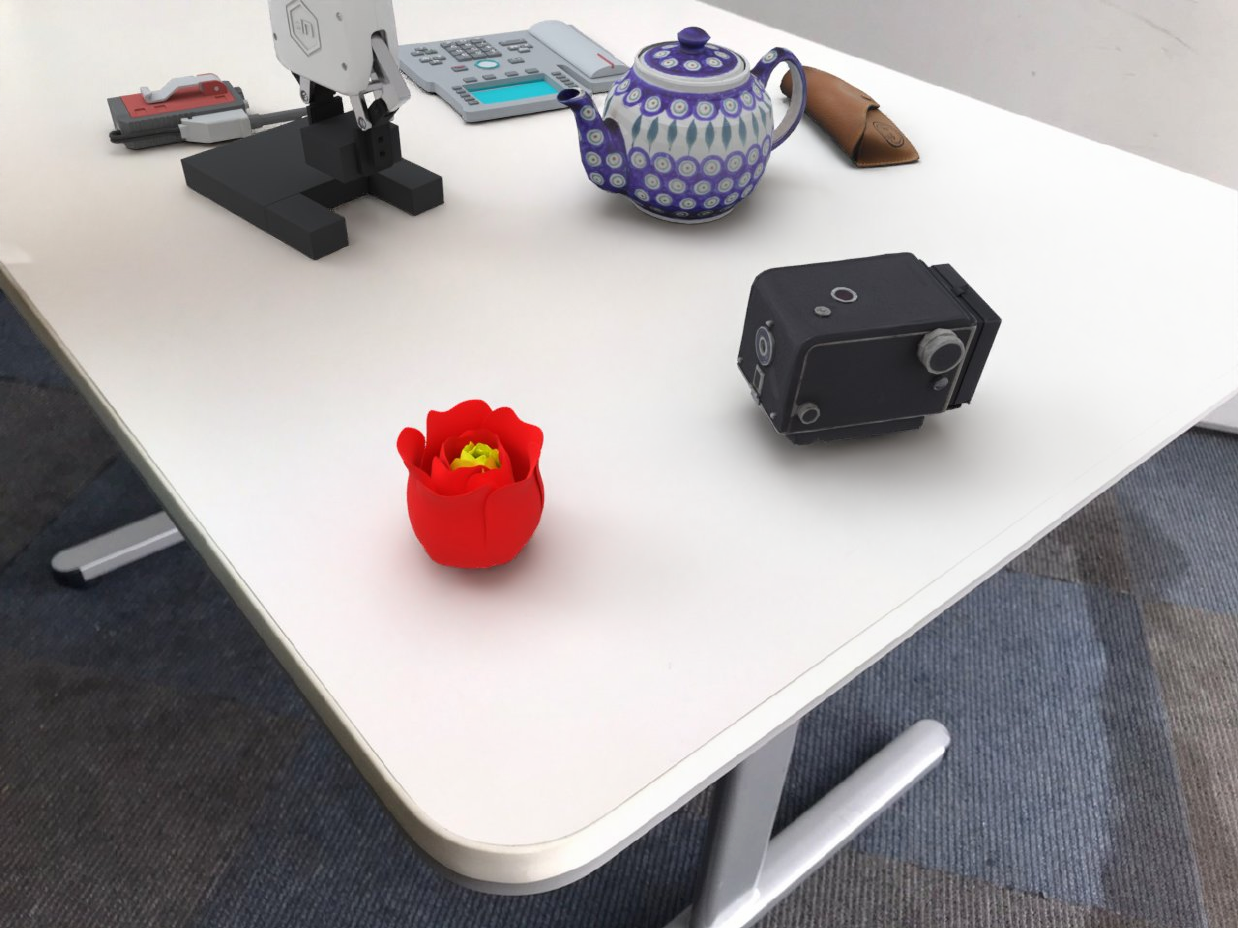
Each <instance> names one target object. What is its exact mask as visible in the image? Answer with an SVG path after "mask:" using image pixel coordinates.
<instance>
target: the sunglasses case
mask: <svg viewBox="0 0 1238 928" xmlns="http://www.w3.org/2000/svg"><path fill="white" fill-rule="evenodd" d="M802 67H803V69H804V72H805V76H806V80H807V99H806V105H805V109H804V112H805V113H806V114H807V115H808V116H809V117H810V118H811V119H812V120H813V122H815V123H816V124H817V125H818V126H819V127H820V128H821V129H822V130H823V131H824V132H825V134H827V136H829V137H830V138H831V139H832V140H833V141H834V143H836V145H838V147H839V148H840V149H842V151H844V153H845V154H846V155H847V156H848V157H849V158H851V159H852V160H853V162H854V163H855V165H856V166H857V167H858V168H882V167H892V166H897V165H903V164H908V163H909V164H910V163H913V162H917V161H918V160H920V159H921V158H920V155H919V153H918V151H917V149H916V148H915V146H914V145H913V143H912V142H911V141H910V140H909V138H908V137H907V136H906V135H905V134H904V132H903V131H902V130H901V129H900V128H899V127H898V126H897V125H896V124H895V123H894V122H893V121H892V120H891V119H890V118H889V117H888V116H887V115H886V114H885V113H884V112H883V111H882V110H881V109H880V108H881V104H879V103H878V102H877V101H876V100H875V99H874V98H873V97H872V96H870V95H869V94H867V92H865V91H863V90H861V89H860V88H857V87H855V85H852V84H850V82H847V81H846V80H844V79H842V78H841V77H838V76H837V75H835V74H832V73H830V72H827V71H826V70H822V69H819V68H817V67H813V66H808V65H803V64H802ZM779 85H780V86H779V91H781V93H782V95H783V96H785V97H786V98H787V99H789V100H790V101H791V98H792V93H793V81H792V75H791V71H790V68H789V69H788V70H787V71H786V72H785V74H784V75H783V76H782V78H781V81H780V84H779Z"/></svg>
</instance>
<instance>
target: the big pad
mask: <svg viewBox="0 0 1238 928" xmlns="http://www.w3.org/2000/svg"><path fill="white" fill-rule="evenodd" d="M306 126H309V122H308V116H302V118H300V119H297V120H294V121H288V122H285V123H284V124H280V125H277V126H274V127H272V128H268V129H265V130H262V131H259V132H256V133H252V135H250V136H248V137H245V138H242V137H241V138H238V139H236V140H233V141H230V142H227V143H225V144H222V145H218V146H216V147H212V148H210V149H207V150H203V151H201V152H197V153H194V154H191V155H189V156H187V157H186V156H185V157H183V158H181V159H180V164H181V167H182V172H183V176H184V180H185V184H186V186H187V187H188V188H190V189H192V190H193V191H195V192H197V193H199V194H200V195H202V196H204V197H205V198H207V199H209V200H211V201H212V202H214V203H216V204H217V205H219V206H220V207H223V208H224V209H226V210H227V211H230V212H231V213H233V214H235V215H236V216H238V217H240V218H241V219H242V220H245V221H246V222H248V223H250V224H252V225H253V226H255V227H257V228H259V229H260V230H262V231H264V232H265V233H267V234H270V235H271V236H273V237H274V238H275V239H277V240H280V241H281V242H283V243H284V244H286V245H288V246H290V247H291V248H293V249H295V250H297V251H298V252H300V253H302V254H304V255H305V256H307V257H309V258H310V259H312V260H313V261H315V260H319V259H320V258H323V257H326V256H327V255H329V254H331V253H333V252H336V251H339V250H340V249H341V250H342V249H343V248H345V247H347V246H349V245H350V243H349V242H350V241H349V236H348V235H349V234H348V228H347V221H346V218H345V216H343V215H341V214H339V213H337V212H335V211H333V210H332V209H333V208H335V207H338V206H340V205H342V204H345V203H347V202H350V201H352V200H355V199H357V198H360V197H362V196H364V195H367V194H371V195H372V196H375V197H377V198H379V199H380V200H383V201H384V202H386V203H389V204H390V205H393V206H394V207H395V208H398V209H400V210H401V211H403V212H406V213H408V214H410V215H412V216H417V215H419V214H422V213H424V212H426V211H430V210H431V209H433V208H435V207H438V206H441V205H442V204H444V203H445V198H444V197H445V196H444V185H443V184H444V183H443V175H442V176H441V175H440V174H438V173H436V172H433V171H431V170H429V169H427V168H425V167H423V166H420V165H419V164H417V163H414V162H413V161H410V160H409V159H407V158H404V157H402V161H399V162H397V163H394V164H393V165H392V167H390V168H388V169H385V170H383V171H380V172H378V173H375V174H373V175H370V176H368V177H364V176H362V177H360V178H357V179H355V180H352V181H350V182H347V183H343V182H341V181H339V180H337V179H335V178H333V177H331V176H329V175H327V174H325V173H323V172H321V171H319V170H317V169H315V168H313V167H311V166H309V165H308V164H306V162H305V157H304V151H303V145H302V139H301V133H300V128H303V127H306Z"/></svg>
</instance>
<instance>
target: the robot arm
mask: <svg viewBox="0 0 1238 928" xmlns="http://www.w3.org/2000/svg"><path fill="white" fill-rule="evenodd" d="M267 8H268V15H269V16H268V17H269V24H270V30H271V38H272V44H273V49H274V53H275V56H276V59H277V61H278V62H279V63H280V64H281V66H282V67H284V68H285V69H286V70H288V71H289V72H291V74H292V76H293V77H294V79H295V81H296V82H297V84H298V85H299V98H300V99H301V102H302V103H304V104H305V105H306V106H305V107H306V109H307V116H308V122H309V125H311V124H314V123H317V122H320V121H323V120H326V119H329V118H331V117H334V116H337V115H340V114H343V113H345V108H344V100H343V96H346V97H349V100H350V103H351V107H352V110H354V114H355V117H356V121H357V124H358V127H355V128H353V136H354V142H355V149H356V157H357V164H358V172H359V174H360V175H362V176H364V177H368V176H370V175H373V174H375V173H378V172H380V171H383V170H385V169H388V168H390V167H392V165H393V163H394V161H393V151H392V142H391V132H390V123H389V122H394V119H395V114H396V113H397V112H398V111H399V109H400V108H401V107H402V106H403V105H404V104H406V103H407V102H408V101H409V100H411V97H412V93H411V90H410V88H409V87H408V84H407V82H406V81H405V79H404V77H403V75H402V73H401V70H400V68H399V49H398V45H399V42H398V31H397V23H396V18H395V17H396V16H395V9H394V5H393V0H267ZM337 93H338V94H340V95H343V96H340V95H336V94H337ZM370 93H372V94H373V97H374V100H373V101H372V103H370V105H369V106H368V104H367V100H366V98H365V95H367V94H370Z"/></svg>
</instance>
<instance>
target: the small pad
mask: <svg viewBox="0 0 1238 928" xmlns="http://www.w3.org/2000/svg"><path fill="white" fill-rule="evenodd" d="M389 123H390V132H391V142H392V151H393V161H394V163H397V162H399V161H402V158H403V154H402V146H401V136H400V135H401V133H400V126H399V124H396V123H394V122H393V121H391V122H389ZM355 127H358V124H357V121H356V117H355V114H354V110H353V109H351V110H348V111H346V112H345V111H344V113H343V114H340V115H337V116H334V117H331V118H329V119H326V120H323V121H320V122H317V123H314V124H311V125H309V126H306V127H303V128H300V133H301V139H302V145H303V151H304V157H305V162H306V164H308V165H309V166H311V167H313V168H315V169H317V170H319V171H321V172H323V173H325V174H327V175H329V176H331V177H333V178H335V179H337V180H339V181H341V182H343V183H347V182H350V181H352V180H355V179H357V178H360V177H362V175H360V174H359V172H358V164H357V157H356V149H355V142H354V136H353V128H355ZM394 163H393V164H394Z"/></svg>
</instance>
